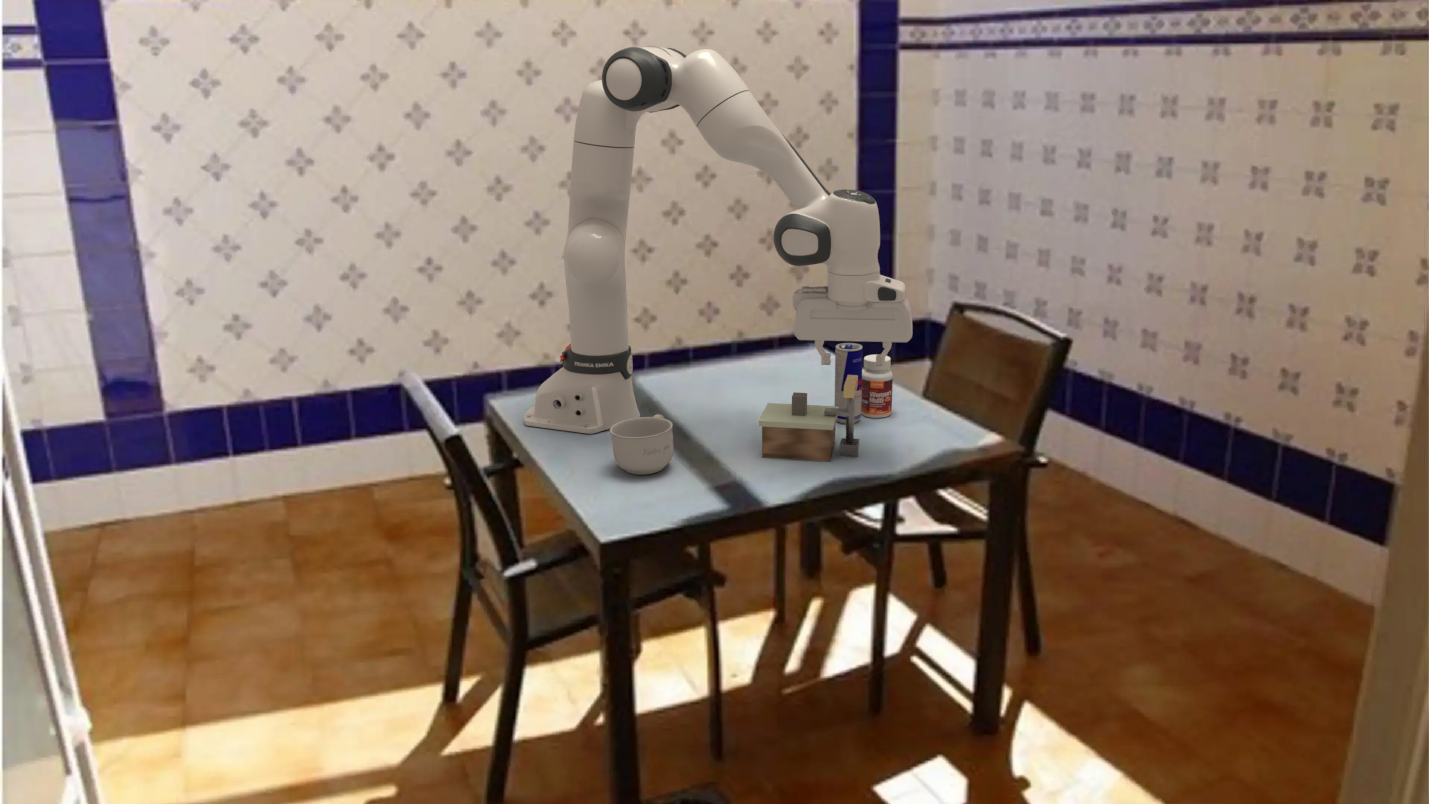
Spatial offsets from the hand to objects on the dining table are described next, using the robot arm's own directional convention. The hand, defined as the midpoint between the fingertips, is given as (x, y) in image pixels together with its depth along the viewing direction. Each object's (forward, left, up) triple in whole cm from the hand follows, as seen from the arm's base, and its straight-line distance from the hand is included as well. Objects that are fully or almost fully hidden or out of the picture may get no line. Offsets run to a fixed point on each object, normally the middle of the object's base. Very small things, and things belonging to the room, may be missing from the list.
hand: (853, 364), depth 206 cm
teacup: (-34, -12, -17) cm, 40 cm away
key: (-2, 0, -14) cm, 14 cm away
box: (-9, 0, -16) cm, 19 cm away
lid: (-9, 0, -10) cm, 14 cm away
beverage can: (-2, +17, -17) cm, 24 cm away
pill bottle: (+3, +22, -17) cm, 28 cm away
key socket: (0, 0, -16) cm, 16 cm away
